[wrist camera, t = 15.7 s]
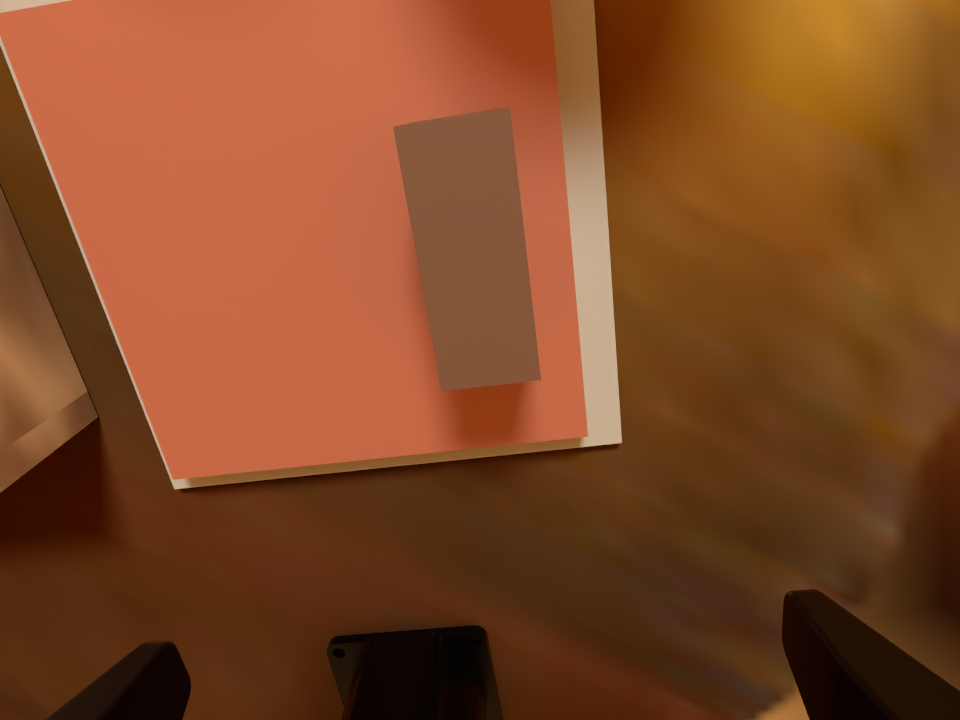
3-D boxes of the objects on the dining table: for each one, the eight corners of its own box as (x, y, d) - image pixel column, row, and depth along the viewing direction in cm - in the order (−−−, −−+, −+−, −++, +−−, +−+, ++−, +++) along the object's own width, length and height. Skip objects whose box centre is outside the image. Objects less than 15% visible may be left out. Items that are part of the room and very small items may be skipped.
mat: (619, 437, 21) (621, 443, 21) (179, 483, 23) (174, 489, 22) (583, -127, 15) (585, -133, 15) (-14, -17, 17) (-25, -19, 16)
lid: (584, 421, 21) (607, 513, 16) (186, 464, 22) (101, 560, 17) (540, -74, 15) (556, -149, 11) (20, 19, 17) (-167, -13, 12)
